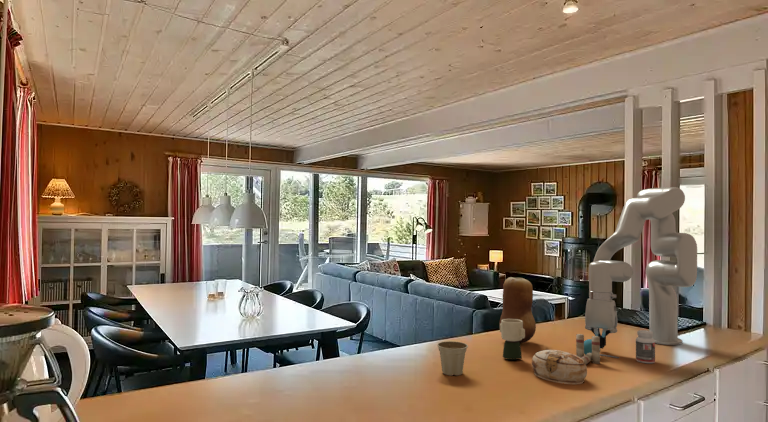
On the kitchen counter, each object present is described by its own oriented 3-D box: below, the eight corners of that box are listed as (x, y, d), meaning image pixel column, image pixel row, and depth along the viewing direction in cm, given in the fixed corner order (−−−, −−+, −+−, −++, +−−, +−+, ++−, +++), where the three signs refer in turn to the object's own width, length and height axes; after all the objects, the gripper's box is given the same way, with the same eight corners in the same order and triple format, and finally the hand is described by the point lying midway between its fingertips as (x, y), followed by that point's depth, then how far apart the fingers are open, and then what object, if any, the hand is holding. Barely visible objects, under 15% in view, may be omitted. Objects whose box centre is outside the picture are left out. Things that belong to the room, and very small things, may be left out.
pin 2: (593, 361, 163) (592, 335, 163) (600, 362, 161) (600, 336, 162) (590, 363, 161) (590, 337, 161) (598, 364, 160) (598, 338, 160)
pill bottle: (657, 364, 160) (657, 333, 160) (638, 363, 161) (638, 333, 161) (651, 359, 165) (651, 330, 165) (633, 358, 166) (633, 329, 167)
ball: (577, 348, 168) (583, 360, 170) (594, 349, 164) (601, 361, 166) (580, 335, 171) (587, 347, 174) (597, 335, 167) (604, 347, 170)
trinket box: (529, 370, 154) (529, 345, 154) (579, 372, 152) (578, 346, 152) (536, 384, 140) (536, 356, 141) (591, 386, 138) (591, 358, 139)
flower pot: (470, 370, 153) (470, 342, 153) (465, 379, 144) (465, 349, 145) (440, 367, 156) (440, 340, 156) (434, 375, 147) (434, 347, 148)
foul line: (577, 351, 176) (577, 350, 176) (619, 357, 168) (619, 357, 168) (576, 351, 175) (576, 351, 175) (618, 358, 167) (618, 357, 167)
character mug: (532, 361, 163) (531, 322, 163) (517, 364, 159) (516, 324, 160) (507, 353, 172) (507, 316, 173) (493, 356, 168) (492, 319, 169)
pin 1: (577, 358, 166) (577, 333, 166) (585, 360, 165) (585, 334, 165) (575, 360, 164) (575, 334, 164) (582, 361, 163) (582, 335, 163)
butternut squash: (543, 343, 187) (543, 278, 187) (520, 348, 179) (519, 280, 180) (514, 336, 198) (514, 275, 199) (491, 341, 191) (491, 277, 191)
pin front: (586, 352, 165) (578, 357, 159) (593, 353, 164) (586, 358, 157) (586, 359, 165) (578, 365, 159) (594, 360, 164) (586, 366, 157)
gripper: (625, 297, 174) (626, 348, 174) (582, 293, 183) (582, 342, 183) (620, 299, 168) (621, 353, 168) (575, 295, 178) (576, 346, 177)
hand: (601, 347), depth 175 cm, fingers closed
